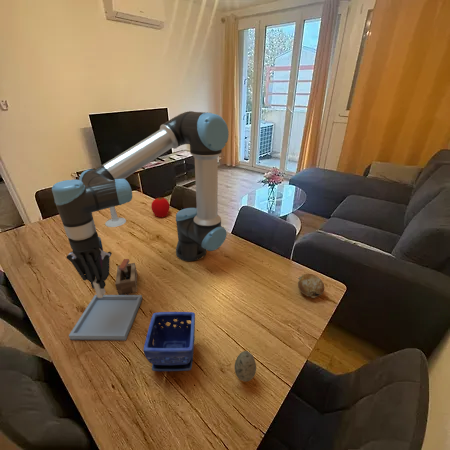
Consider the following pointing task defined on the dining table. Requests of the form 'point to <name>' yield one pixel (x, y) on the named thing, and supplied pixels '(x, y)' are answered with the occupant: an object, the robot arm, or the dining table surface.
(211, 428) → the dining table surface
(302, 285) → the bread roll
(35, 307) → the dining table surface
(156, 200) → the red apple
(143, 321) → the dining table surface
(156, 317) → the flower pot
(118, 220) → the candlestick
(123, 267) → the mallet
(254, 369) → the decorative egg
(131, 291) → the brown hollow block
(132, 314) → the tray
